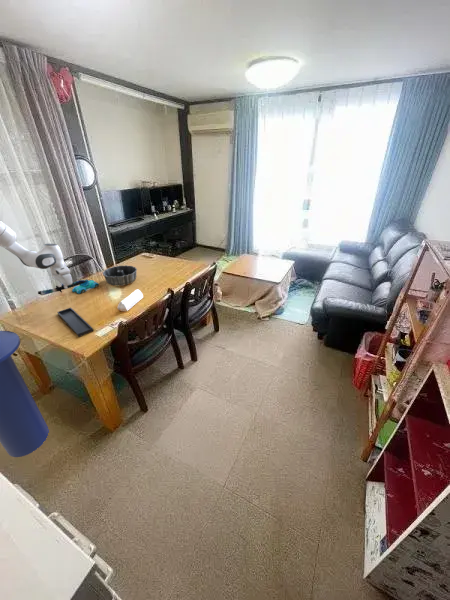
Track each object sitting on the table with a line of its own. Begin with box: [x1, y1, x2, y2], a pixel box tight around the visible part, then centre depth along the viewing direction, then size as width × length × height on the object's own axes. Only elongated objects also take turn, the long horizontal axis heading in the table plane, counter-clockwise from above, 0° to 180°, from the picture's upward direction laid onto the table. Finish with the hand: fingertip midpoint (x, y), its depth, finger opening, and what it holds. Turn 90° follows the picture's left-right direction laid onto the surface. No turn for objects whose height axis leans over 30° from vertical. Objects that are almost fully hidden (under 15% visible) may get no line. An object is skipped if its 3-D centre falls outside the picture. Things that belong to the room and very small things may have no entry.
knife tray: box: [57, 307, 94, 338], centre depth 158 cm, size 8×35×2 cm, turn 47°
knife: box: [37, 279, 88, 296], centre depth 170 cm, size 31×3×4 cm, turn 139°
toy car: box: [71, 279, 100, 295], centre depth 199 cm, size 11×18×7 cm, turn 151°
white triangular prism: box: [116, 288, 144, 312], centre depth 178 cm, size 7×7×24 cm
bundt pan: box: [102, 264, 138, 287], centre depth 210 cm, size 26×26×10 cm
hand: (64, 287), depth 170 cm, fingers closed on knife
